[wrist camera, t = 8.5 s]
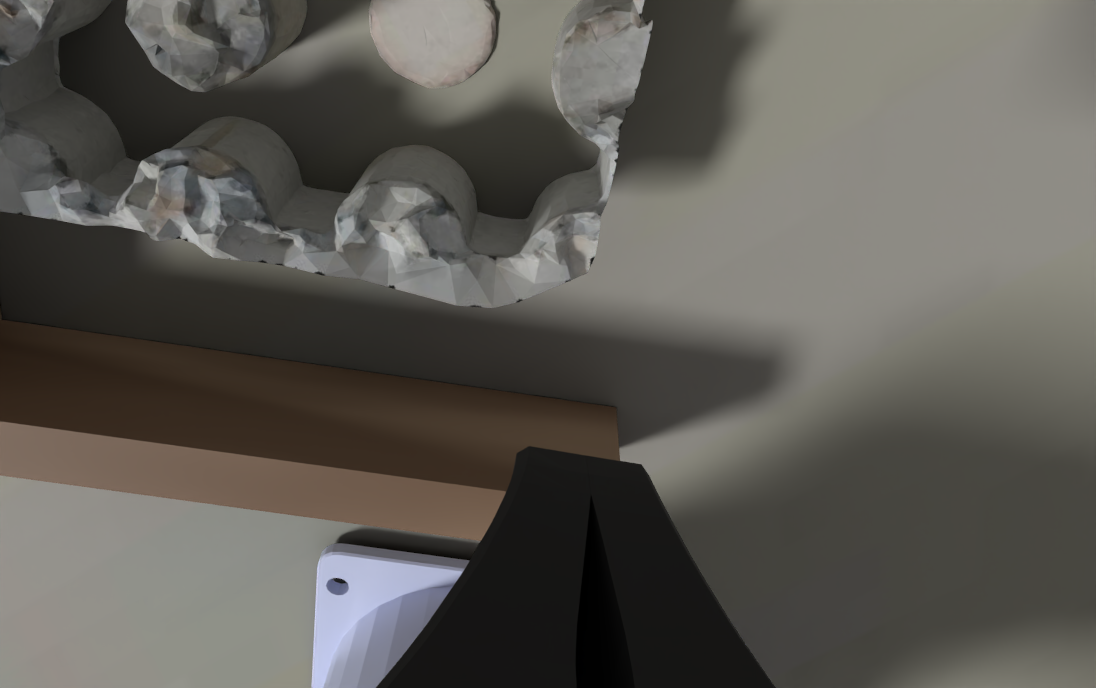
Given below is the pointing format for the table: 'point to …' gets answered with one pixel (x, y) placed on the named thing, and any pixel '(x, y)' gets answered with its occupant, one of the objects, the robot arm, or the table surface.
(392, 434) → the walnut u-shaped frame
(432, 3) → the egg carton
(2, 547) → the table surface
